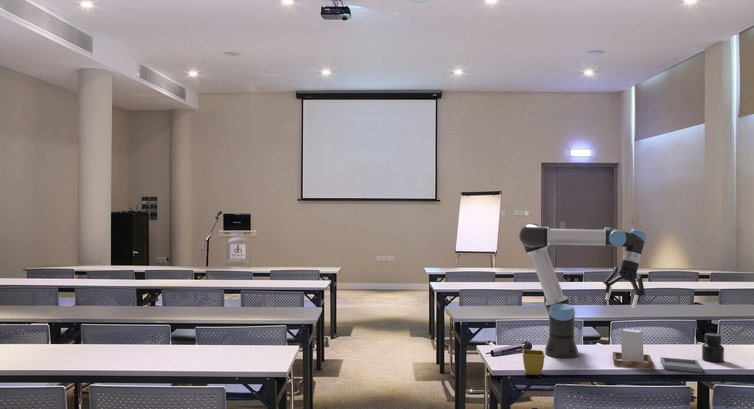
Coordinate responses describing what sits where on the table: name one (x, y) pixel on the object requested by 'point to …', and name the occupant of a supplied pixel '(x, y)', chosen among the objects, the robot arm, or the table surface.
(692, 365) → the tray
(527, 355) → the flower pot
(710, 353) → the ink bottle
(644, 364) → the wooden tray
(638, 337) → the skincare box
